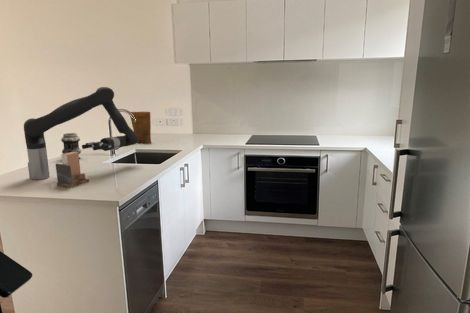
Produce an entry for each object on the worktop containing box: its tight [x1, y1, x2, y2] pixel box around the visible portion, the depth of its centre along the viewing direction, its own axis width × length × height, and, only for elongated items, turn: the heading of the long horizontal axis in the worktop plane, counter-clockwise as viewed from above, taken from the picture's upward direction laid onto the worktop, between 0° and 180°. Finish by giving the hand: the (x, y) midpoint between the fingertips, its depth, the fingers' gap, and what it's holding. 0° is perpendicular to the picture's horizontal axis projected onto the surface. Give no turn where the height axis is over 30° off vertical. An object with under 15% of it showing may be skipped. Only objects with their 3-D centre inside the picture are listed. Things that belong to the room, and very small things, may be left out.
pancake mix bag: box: [129, 111, 152, 145], centre depth 294 cm, size 7×19×28 cm, turn 72°
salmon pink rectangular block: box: [60, 152, 82, 176], centre depth 177 cm, size 7×4×15 cm, turn 155°
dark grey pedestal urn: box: [60, 132, 82, 160], centre depth 234 cm, size 12×12×18 cm
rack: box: [55, 163, 90, 189], centre depth 178 cm, size 12×10×12 cm
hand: (87, 147), depth 186 cm, fingers open, 8 cm apart
